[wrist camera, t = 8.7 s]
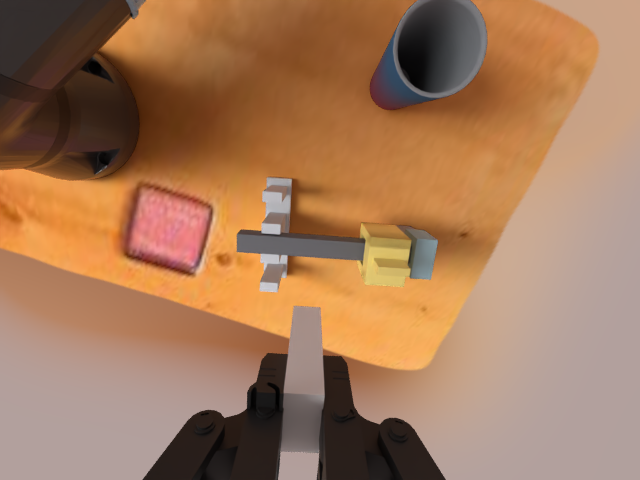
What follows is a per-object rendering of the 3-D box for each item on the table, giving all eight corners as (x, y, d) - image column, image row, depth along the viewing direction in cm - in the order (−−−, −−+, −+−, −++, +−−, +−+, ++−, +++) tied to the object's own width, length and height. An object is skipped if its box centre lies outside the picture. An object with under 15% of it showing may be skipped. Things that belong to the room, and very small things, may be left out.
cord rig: (250, 271, 43) (233, 303, 34) (252, 175, 39) (234, 182, 31) (401, 282, 44) (424, 315, 35) (416, 188, 40) (446, 199, 31)
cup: (391, 130, 38) (437, 118, 24) (350, 89, 37) (373, 51, 23) (431, 84, 37) (507, 42, 23) (390, 40, 36) (443, -34, 21)
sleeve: (356, 262, 38) (369, 295, 30) (361, 222, 37) (375, 244, 28) (389, 264, 38) (411, 298, 30) (395, 224, 37) (419, 247, 28)
